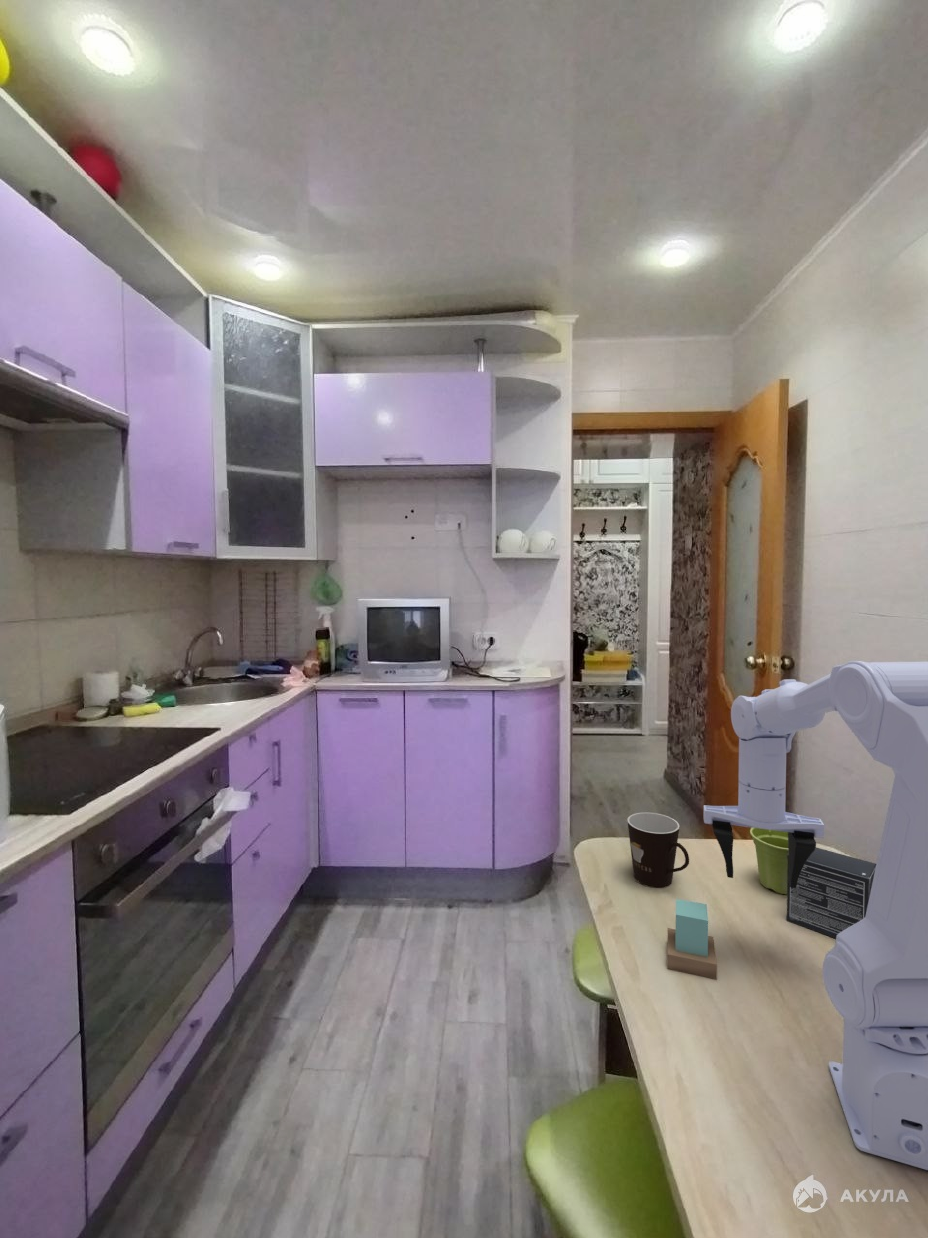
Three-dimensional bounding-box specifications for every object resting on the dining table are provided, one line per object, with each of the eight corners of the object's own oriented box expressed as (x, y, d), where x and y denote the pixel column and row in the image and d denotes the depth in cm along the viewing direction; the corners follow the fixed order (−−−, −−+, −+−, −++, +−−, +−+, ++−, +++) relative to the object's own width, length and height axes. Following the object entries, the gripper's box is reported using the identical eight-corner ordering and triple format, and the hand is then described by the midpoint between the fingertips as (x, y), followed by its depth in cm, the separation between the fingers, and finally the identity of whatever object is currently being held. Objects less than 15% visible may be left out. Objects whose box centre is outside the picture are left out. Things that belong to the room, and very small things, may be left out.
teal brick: (707, 957, 72) (708, 920, 72) (675, 950, 74) (675, 914, 73) (706, 939, 76) (706, 904, 76) (675, 932, 77) (675, 898, 77)
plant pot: (795, 872, 97) (796, 825, 96) (824, 902, 88) (825, 850, 87) (740, 870, 98) (741, 823, 97) (763, 900, 89) (764, 848, 88)
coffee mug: (621, 865, 100) (622, 812, 100) (669, 865, 100) (669, 812, 99) (639, 901, 89) (640, 841, 88) (693, 902, 88) (694, 842, 88)
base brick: (716, 979, 71) (716, 964, 71) (667, 968, 73) (667, 954, 73) (713, 950, 76) (713, 936, 76) (667, 941, 79) (667, 928, 78)
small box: (878, 931, 80) (880, 862, 80) (870, 953, 76) (872, 879, 75) (796, 903, 88) (797, 839, 87) (784, 921, 83) (785, 854, 83)
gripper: (815, 779, 76) (813, 873, 77) (702, 768, 81) (701, 857, 82) (829, 797, 69) (827, 900, 70) (705, 784, 75) (704, 880, 75)
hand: (760, 879), depth 76 cm, fingers open, 7 cm apart
